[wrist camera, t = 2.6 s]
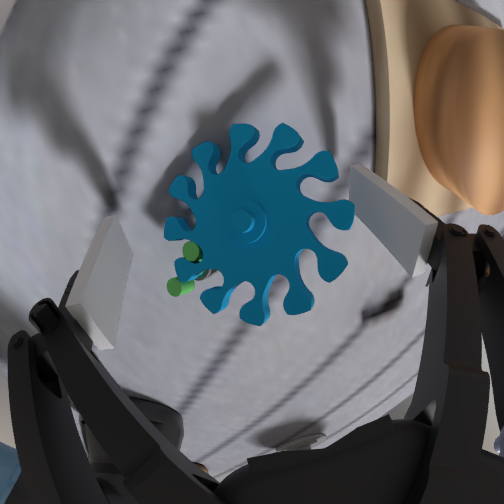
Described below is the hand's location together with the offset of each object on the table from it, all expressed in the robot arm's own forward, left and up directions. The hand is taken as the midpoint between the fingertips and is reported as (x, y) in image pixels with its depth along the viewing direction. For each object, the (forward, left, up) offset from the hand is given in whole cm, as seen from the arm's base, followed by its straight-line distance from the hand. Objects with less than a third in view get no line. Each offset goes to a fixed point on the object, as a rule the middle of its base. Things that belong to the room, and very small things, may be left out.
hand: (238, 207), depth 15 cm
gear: (0, 0, -2) cm, 2 cm away
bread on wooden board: (+19, +5, -2) cm, 19 cm away
